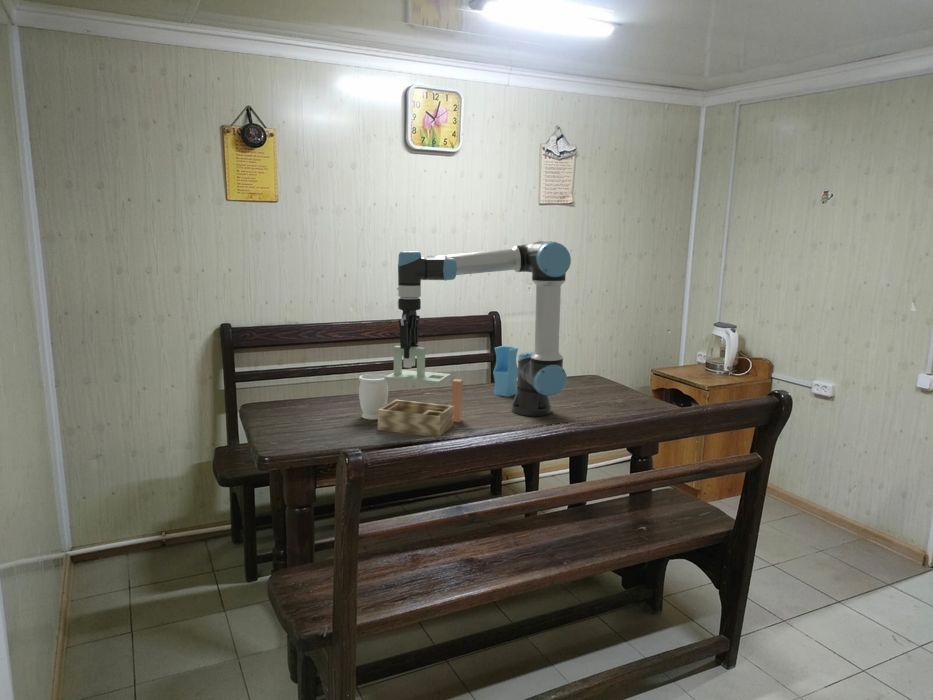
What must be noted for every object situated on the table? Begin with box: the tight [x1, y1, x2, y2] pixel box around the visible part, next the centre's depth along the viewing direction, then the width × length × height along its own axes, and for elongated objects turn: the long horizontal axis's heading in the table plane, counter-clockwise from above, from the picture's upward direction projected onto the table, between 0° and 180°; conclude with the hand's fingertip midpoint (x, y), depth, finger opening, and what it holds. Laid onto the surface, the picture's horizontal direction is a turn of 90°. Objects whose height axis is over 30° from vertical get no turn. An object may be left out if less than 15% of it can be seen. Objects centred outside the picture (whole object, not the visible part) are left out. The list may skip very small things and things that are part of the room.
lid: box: [384, 345, 452, 386], centre depth 214 cm, size 19×12×10 cm, turn 73°
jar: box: [358, 373, 389, 421], centre depth 228 cm, size 11×10×15 cm
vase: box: [492, 345, 519, 398], centre depth 268 cm, size 8×8×20 cm
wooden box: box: [377, 399, 454, 438], centre depth 217 cm, size 22×15×7 cm
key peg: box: [451, 378, 464, 423], centre depth 226 cm, size 3×3×15 cm
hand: (409, 366), depth 215 cm, fingers closed on lid, 2 cm apart
